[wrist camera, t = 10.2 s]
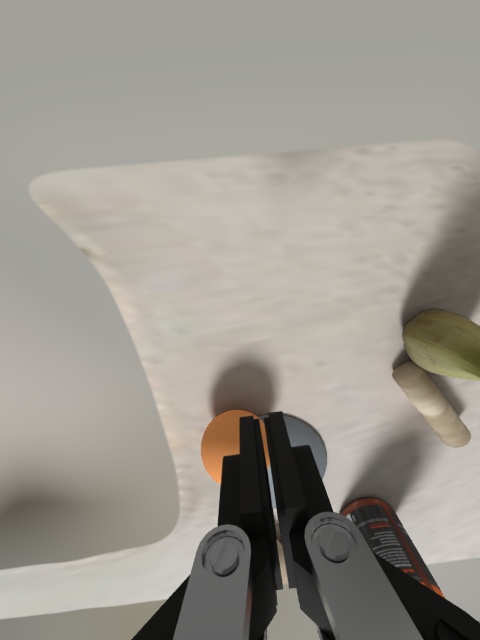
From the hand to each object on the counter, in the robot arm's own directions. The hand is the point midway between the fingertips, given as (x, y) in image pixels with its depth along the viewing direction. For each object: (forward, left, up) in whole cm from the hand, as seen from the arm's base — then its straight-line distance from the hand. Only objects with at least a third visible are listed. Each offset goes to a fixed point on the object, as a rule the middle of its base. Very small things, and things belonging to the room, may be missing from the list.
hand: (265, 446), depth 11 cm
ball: (+3, +9, -10) cm, 14 cm away
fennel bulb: (-15, +2, -14) cm, 20 cm away
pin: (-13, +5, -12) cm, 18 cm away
